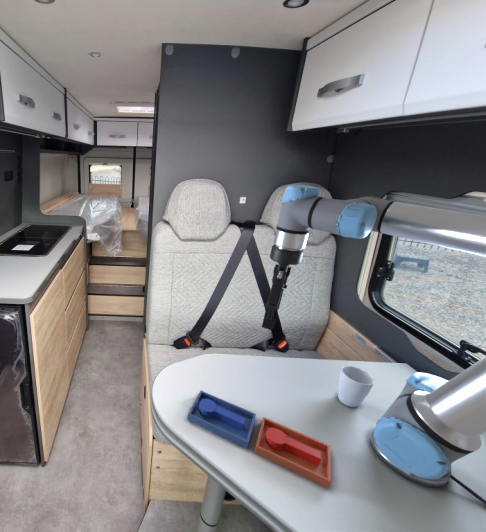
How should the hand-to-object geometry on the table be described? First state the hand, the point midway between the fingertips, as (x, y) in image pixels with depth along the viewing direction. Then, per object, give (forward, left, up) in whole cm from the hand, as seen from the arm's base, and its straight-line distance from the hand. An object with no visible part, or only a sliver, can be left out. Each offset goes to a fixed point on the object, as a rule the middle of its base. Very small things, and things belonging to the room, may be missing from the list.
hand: (270, 317), depth 88 cm
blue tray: (+6, +17, -27) cm, 32 cm away
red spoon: (-12, +17, -26) cm, 33 cm away
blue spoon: (+6, +17, -26) cm, 32 cm away
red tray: (-12, +17, -27) cm, 34 cm away
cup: (-26, -12, -27) cm, 39 cm away
